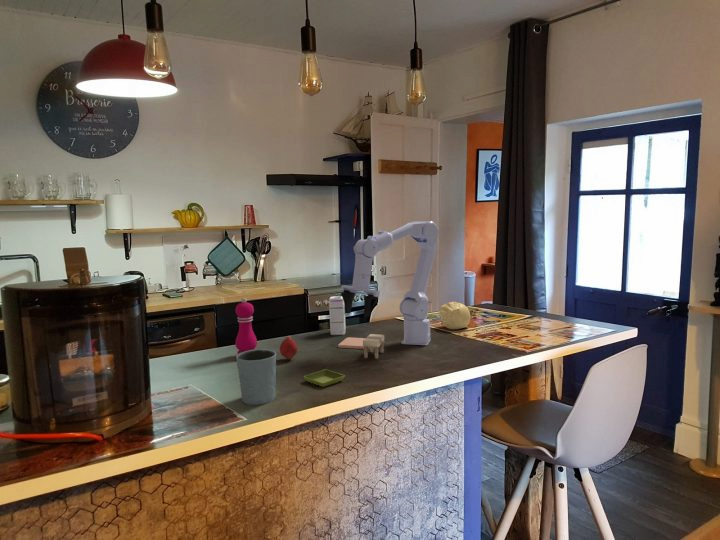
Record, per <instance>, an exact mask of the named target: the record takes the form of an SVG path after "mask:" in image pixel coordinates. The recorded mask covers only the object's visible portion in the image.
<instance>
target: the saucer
mask: <svg viewBox="0 0 720 540" xmlns="http://www.w3.org/2000/svg"><path fill="white" fill-rule="evenodd" d="M345 377H346V375H345V374H342V373H340V372H336V371H333V370H330V369H327V368H325V369H322V370H318V371H315V372H312V373H310V374H305V375H304V376H303V378H304V379H305V380H306V382H308V383H309V382H310V383H309V384H312V383H313V384H312V385H315V384H316V385H315V386H318V385H319V386H318V387H321V386H322V387H321V388H326V387H328V386H331V385H333V384H337V383H339V381H340V382H341V381H342V380H343V379H344V378H345ZM325 386H326V387H325Z"/></svg>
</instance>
